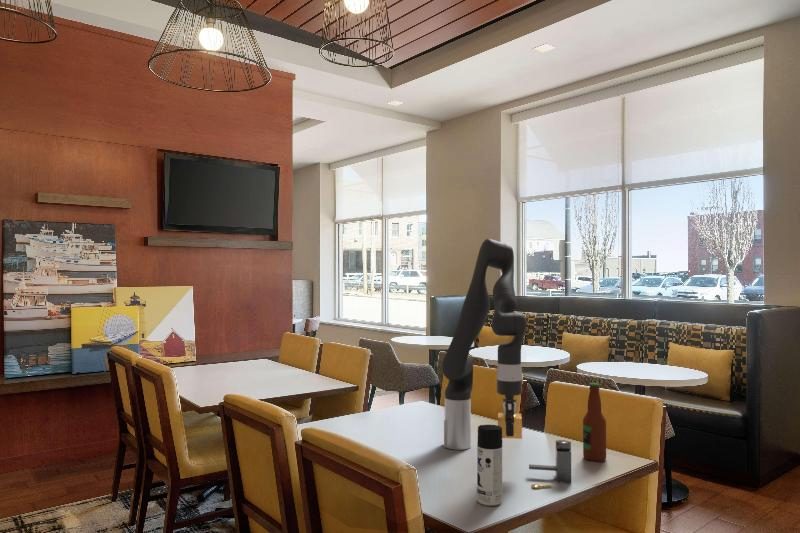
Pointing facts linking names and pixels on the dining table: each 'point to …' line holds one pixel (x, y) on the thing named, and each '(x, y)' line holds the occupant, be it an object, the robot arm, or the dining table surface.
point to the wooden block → (516, 425)
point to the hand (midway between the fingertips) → (509, 432)
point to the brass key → (541, 486)
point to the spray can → (489, 465)
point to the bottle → (594, 428)
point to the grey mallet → (560, 462)
